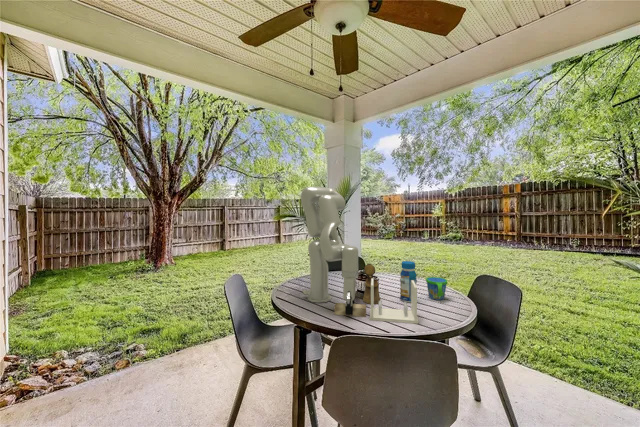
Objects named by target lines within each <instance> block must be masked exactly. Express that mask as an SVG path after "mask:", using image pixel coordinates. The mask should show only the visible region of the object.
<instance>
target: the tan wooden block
mask: <svg viewBox="0 0 640 427" xmlns="http://www.w3.org/2000/svg"><path fill="white" fill-rule="evenodd" d="M345 305H346V302H345V303H343V302H336V303H335V305H334V309H333V310H334V315H339V316H349V317H350V316H351V317H361V318H363V317H364V318H366V316H367V304H360V303H355V304H352V306H353V315H346V314H345Z"/></svg>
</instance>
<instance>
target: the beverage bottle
mask: <svg viewBox="0 0 640 427" xmlns="http://www.w3.org/2000/svg"><path fill="white" fill-rule="evenodd" d="M401 269H402V270H401V271H400V273H399V276H400V278H399V282H400V291H399V293H400V295H399V298H400V301H402V302H403V303H404V302H407V303H411V280H414V282H415V284H416V285H417V283H418V279H417V272H416V271H415V269H416V263H415V261H410V260H404V261H403V260H402V261H401Z"/></svg>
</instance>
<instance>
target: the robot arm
mask: <svg viewBox="0 0 640 427" xmlns="http://www.w3.org/2000/svg"><path fill="white" fill-rule="evenodd" d="M300 193H301V195H300V203H301V206H302V209H303V211H304V212H303V213H304V215H305V221H306V226H307V231H308V234H309V236H310V237H311V238H315V239H314V240H312V241H310V242H309V244H308V248H307V250H308V255H309V262H310V263H309V266H310V267H309V268H310V277H309V278H310V279H309V280H310V284H309V285H310V286H309V288H310V289H309V290H306V289H305V290H304V289H303V291H302V294H303V295H305V296H307V301H309V302H311V303H316V304H319V303H321V304H322V303H327V302H330V301H331V300H332V296H331V295H330V294H329V264H328V262H337V261H341V278H343V287H342V288H343V290H342V291H343V292H342V300H343V301H345V303H346V305H345V314H346V315H345V316H348V315H353V306H352V304H356V300H355V297H356V291H357V288H356V286H357V282H356V280H357V279H358V278H359V249H358V247H357V246H351V245H349V244H345V243H340V239H339V236H338V235H339V234H338V230H337V228H338V227H339V226H340V225H341V219H340V215H339V212H340V211H343V210H344V209H345V207H346V200H345V198H344V196H342V194H340V193H339V192H337V191H336V190H334V189H333V188H331V187H326V186H325V187H324V186H307V187H305V188H304V189H303V190H302V191H301V192H300ZM316 203H318V205H317V204H316ZM316 238H319V239H316Z"/></svg>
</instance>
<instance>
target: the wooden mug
mask: <svg viewBox="0 0 640 427" xmlns="http://www.w3.org/2000/svg"><path fill="white" fill-rule="evenodd" d="M363 272H364V274H365V275H366V276H367V278H366V279H365V282H364V294H363V298H362V300H363V303H365V304H369V305H371V278H373V277H374V275H375V273H376V268H375V266H374V265H373V264H371V263H367V264H366V265H365V266H364V269H363ZM381 299H382V298H381V297H380V291H379V282H378V279H375V278H374V305H377V304H378V305H379V301H382V300H381Z"/></svg>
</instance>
